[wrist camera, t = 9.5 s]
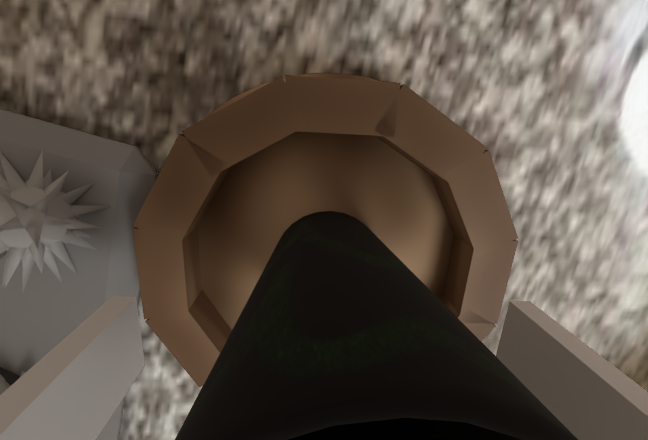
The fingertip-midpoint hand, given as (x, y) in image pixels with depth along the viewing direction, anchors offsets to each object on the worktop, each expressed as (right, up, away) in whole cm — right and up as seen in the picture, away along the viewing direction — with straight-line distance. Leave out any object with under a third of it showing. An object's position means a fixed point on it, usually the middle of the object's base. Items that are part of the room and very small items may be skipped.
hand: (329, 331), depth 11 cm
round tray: (0, +2, +6) cm, 6 cm away
